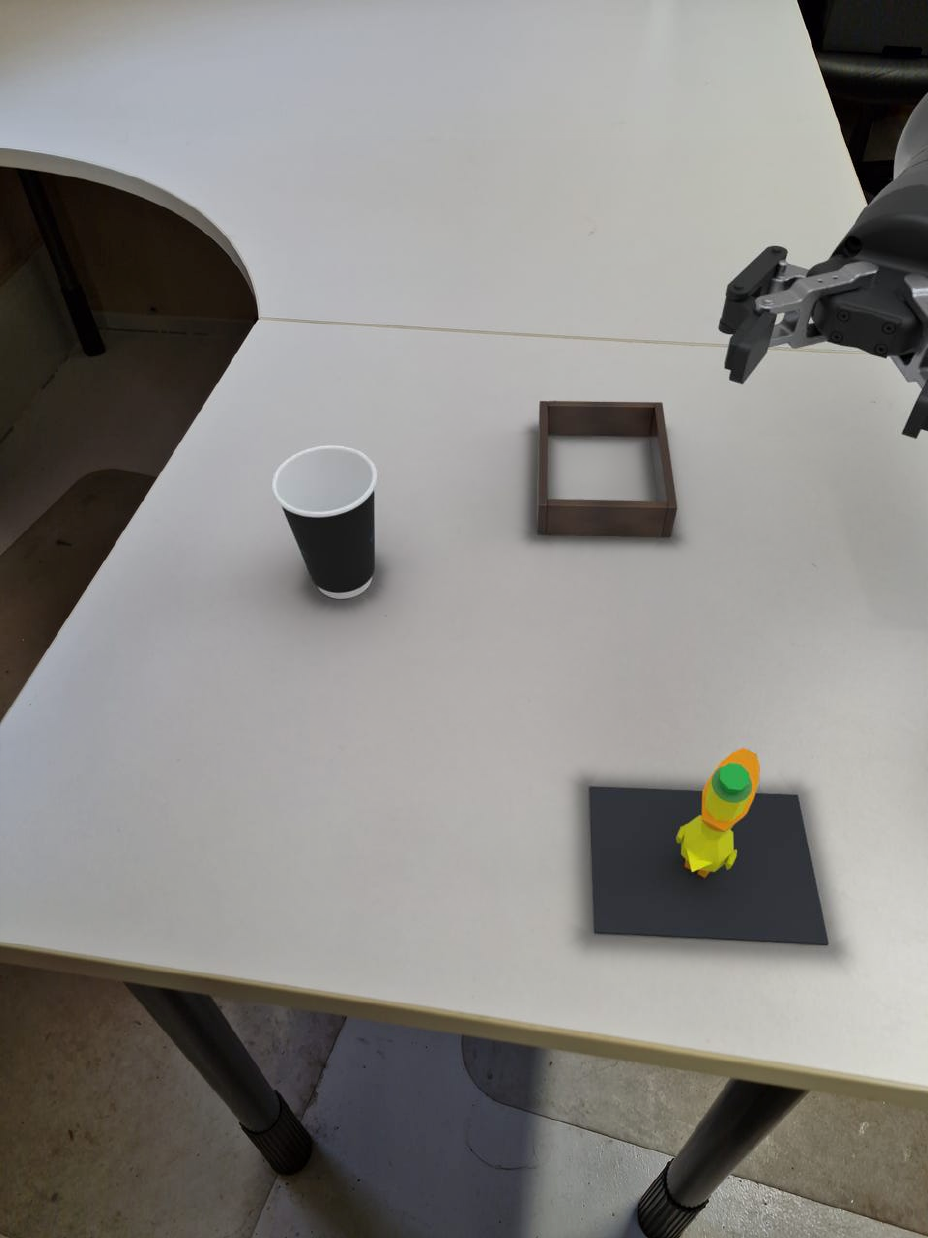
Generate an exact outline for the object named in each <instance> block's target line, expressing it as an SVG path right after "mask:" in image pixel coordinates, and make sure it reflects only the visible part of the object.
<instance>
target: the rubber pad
mask: <svg viewBox="0 0 928 1238" xmlns="http://www.w3.org/2000/svg"><path fill="white" fill-rule="evenodd" d="M588 790H589V792H588V793H589V816H590V817H589V820H590V844H591V845H590V847H591V873H592V874H591V876H592V903H593V904H592V907H593V933H594V934H600V935H601V934H602V935H620V936H621V935H623V936H641V937H658V938H659V937H661V938H678V939H679V938H680V939H699V940H715V941H716V940H718V941H719V940H720V941H739V942H757V943H776V944H795V945H796V944H797V945H812V946H813V945H815V946H829V939H828V933H827V928H826V924H825V918H824V914H823V909H822V904H821V899H820V895H819V890H818V889H819V888H818V885H817V880H816V876H815V875H816V874H815V871H814V865H813V861H812V856H811V851H810V847H809V842H808V837H807V832H806V827H805V822H804V818H803V812H802V808H801V807H802V806H801V802H800V799H799V795H798V794H793V793H791V794H789V793H788V794H787V793H769V792H768V793H767V792H766V793H765V792H764V793H763V792H755V796H754V799H753V801H752V803H751V806H750V808H749V810H748V812H747V814H746V815H745V816H744V817H743V818H742V819H741V820H739V821H738V822H737V823H735V824H734V825H733V826H732V828H731V829H730V830H731V831H732V832H733V847H734V850H736V849H737V856H736V858H735V861H734V863H733V865H732V867H731V868H730V869H728V870H727V869H726V866H725V864H724V865H723V866H722V867H720V868H719V869H718V870H716V871H715V872H711V871H710V872H709V874H708V875H707V876H706V877H705V878H704V877H702V876H700V875H698V874H697V873H698V870H696V871H694V872H692V870H690V869H688V868H686V867H684V866H685V861H686V859H685V858H684V857H683V856H682V855H681V842H680V843H677V841H676V836H677V834H678V832H679V830H680V828H681V826H684V825H685V824H688V823H689V822H691V821H692V820H694V819H695V818H696V817H698V816H699V815H702V791H703V790H695V789H694V790H693V789H692V790H691V789H671V788H670V789H669V788H667V789H666V788H646V787H645V788H642V787H619V786H617V787H616V786H596V785H595V786H593V785H589V789H588Z"/></svg>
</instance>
